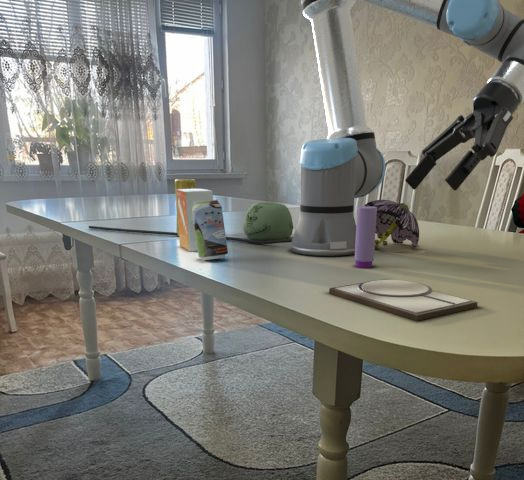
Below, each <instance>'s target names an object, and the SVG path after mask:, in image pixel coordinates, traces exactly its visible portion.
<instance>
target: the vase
mask: <svg viewBox="0 0 524 480" xmlns="http://www.w3.org/2000/svg"><path fill="white" fill-rule="evenodd" d="M196 187H197V186H196V179H193V178H192V179H191V178H190V179H186V178H184V179H183V178H182V179H175V180H174V192H175V206H176V233H178V235H177V236H176V237H179V221H178V204H177V189H197V188H196Z"/></svg>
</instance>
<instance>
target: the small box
mask: <svg viewBox="0 0 524 480" xmlns="http://www.w3.org/2000/svg"><path fill="white" fill-rule="evenodd" d="M206 200H214V191H213V190H212V189H211V190H210V189H207V188H196V189H177V204H178V221H179V236H178V238H179V246H180V247H181V248H183V249H185V250H187V251H188V252H198V248H197V242H196V235H195V228H194V222H193V215H192V208H193V206H194V202H199V201H206Z"/></svg>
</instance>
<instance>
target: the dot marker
mask: <svg viewBox="0 0 524 480" xmlns="http://www.w3.org/2000/svg"><path fill="white" fill-rule="evenodd" d="M376 215H377V207H368V206H365V205H364V207H363V206H357V207H356V221H355V223H356V241H355V254H354V261H355V264H354V266H355V267H356V268H360V269H361V268H362V269H369V268H372V267H373V261H374V259H375V248H374V247H375V245H376V244H375V240H376V233H375V231H376Z"/></svg>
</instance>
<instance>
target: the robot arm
mask: <svg viewBox="0 0 524 480" xmlns="http://www.w3.org/2000/svg"><path fill="white" fill-rule="evenodd" d="M360 1H361V2H364V3H365V4H368V5H371V6H374V7H377V8H379V9H382V10H384V11H388V12H391V13H393V14H394V15H395V14H396V15H398V16H401V17H404V18H406V19H409V20H412V21H415V22H417V23H419V24H422V25H424V26H428V27H430V28H433V29H436V30H438V31H440V32H442V33H446V34H448V35H451V36H453V37H456V38H458V39H459V40H460V41H462V42H463V43H464V44H466V45H467V46H469V47H472V48H474V49H476V50H478V51H480V52H481V53H483V54H486V55H487V56H489V57H491V58H493V59H494V60H497V61H498V62H500V63H501V64H500V65H499V66H498V68H497V69H496V70H495V71H494V72H493V74H492V75H491V76H490V77H489V79H488V80H487V82H486V83H485V84H484V85H483V86H482V87H481V89H480V90H479V91H478V93H477V94H476V95H475V96H474V98H473V99H472V100H473V101H472V107H473V110H472V112H471V113H470V114H468V115H467V116H465V117H464V115H463V114H460V115H459V116H457V118H455V120H454V121H453V122H452V123H451V124H450V125H449V126H448V127H447V128H446V129H445V130H443V131H442V132H441V133H439V135H438V136H436V138H434V139H433V140H432V141H431V142H430V143H429V144H428V145H427V146H426V147H424V148H423V149H422V151H421V154H422V155H423V157H422V158H421V160H420V161H419V162H418V164H417V165H416V166H415V168H413V170H412V171H411V172H410V174H409V175H408V176H406V178H405V180H404V181H405V182H406V184H407V185H408V186H409V187H410V188H411V189H412V190H414V191H415V190H416V189H417V188H418V187H419V186H420V184H422V182H423V181H424V180H425V178H426V177H427V176H428V174H430V172H431V171H432V170H433V168H434V167H435V166H437V161H439V160H440V159H441V158H442V157H444V156H445V155H446V154H448V153H450V152H451V151H452V150H453V149H455V148H456V147H457V146H459V145H460V144H466V143H467V142H468V141H470V140H471V139H474V141H473V145H472V146H470V148H471V149H472V150H467V152H466V153H465V154H464V156H462V158H461V159H460V161H459V162H458V163H457V164H456V165H455V167H454V168H453V169H452V171H450V173H449V174H448V175H447V177H446V178H445V179H444V181H445V182H446V183H447V184H448V186H449V187H450V188H451V189H452V190H453V191H457V190H458V189H459V188H460V187H461V185H462V184H463V183H464V182H465V180H466V179H467V178H468V177H469V176H470V174H471V173H472V172H473V171H474V169H475V168H476V167H477V166H478V165H479V164H480V162H481V161H484V160H486V159H487V157H488V156H489V157H490V158H493V157H495V156H496V154H497V152H498V150H499V148H500V146H501V143H502V140H503V138H504V136H505V134H506V130H507V128H508V127H509V125H510V124H511V122H512V121H513V119H514V116H513V115H514V113H516V111H517V110H518V109H519V106H521V104H522V103H523V102H524V18H522V17H521V16H518V15H517V14H515V13H513V12H511V11H510V10H508V9H506V8H505V7H504V6H503V5H502V4H501V2H500V1H499V0H360ZM356 2H357V0H300V3H301V8H302V14H303V17H304V18H306V20H308V21H310V22H311V27H312V33H313V39H314V47H315V53H316V58H317V65H318V72H319V79H320V85H321V92H322V96H323V104H324V109H325V117H326V124H327V127H328V128H327V130H328V135H327V137H326V138H322V139H313V140H308V141H306V142H305V143H304V144H303V145H302V147H301V150H300V151H301V153H300V159H299V165H300V177H299V178H300V179H299V181H300V185H299V187H300V188H299V189H300V190H299V191H300V192H299V194H300V195H299V216H298V217H299V218H298V220H297V223H296V227H295V230H294V234H293V236H292V238H287V239H280V240H271V241H261V240H253V239H250V238H242V237H233V236H226V241H233V242H242V243H243V242H244V243H249V244H254V245H255V244H256V245H273V244H283V243H291V244H290V245H291V246H290V247H291V248H290V250H291V251H292V252H293V253H296V254H300V255H304V256H306V255H307V256H316V257H339V256H341V257H342V256H350V255H355V241H356V219H355V215H354V213H355V212H354V211H355V199H359V198H363V197H366V196H367V195H370V194H372V193H374V192H375V191H376V190H377V189H378V188H379V187H380V185H381V184H382V182H383V180H384V177H385V174H386V167H387V166H386V161H385V157H384V154H383V153H382V152H381V150H379V148H377V143H376V135H375V131H374V130H373V129H372V128H370V127H369V126H368V125H367V119H366V113H365V106H364V98H363V92H362V85H361V78H360V70H359V64H358V56H357V49H356V43H355V35H354V28H353V27H354V26H353V22H352V21H353V20H352V14H351V11H352V9H353V7H354V6H355V4H356ZM88 229H92V230H93V229H94V230H102V231H112V232H124V233H136V234H137V233H138V234H151V235H162V236H163V235H165V236H176V237H178V236H177V235H178V233H177V232H174V231H173V232H172V231H160V230H145V229H144V230H143V229H133V228H131V229H130V228H118V227H108V226H107V227H106V226H96V225H88Z"/></svg>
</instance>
